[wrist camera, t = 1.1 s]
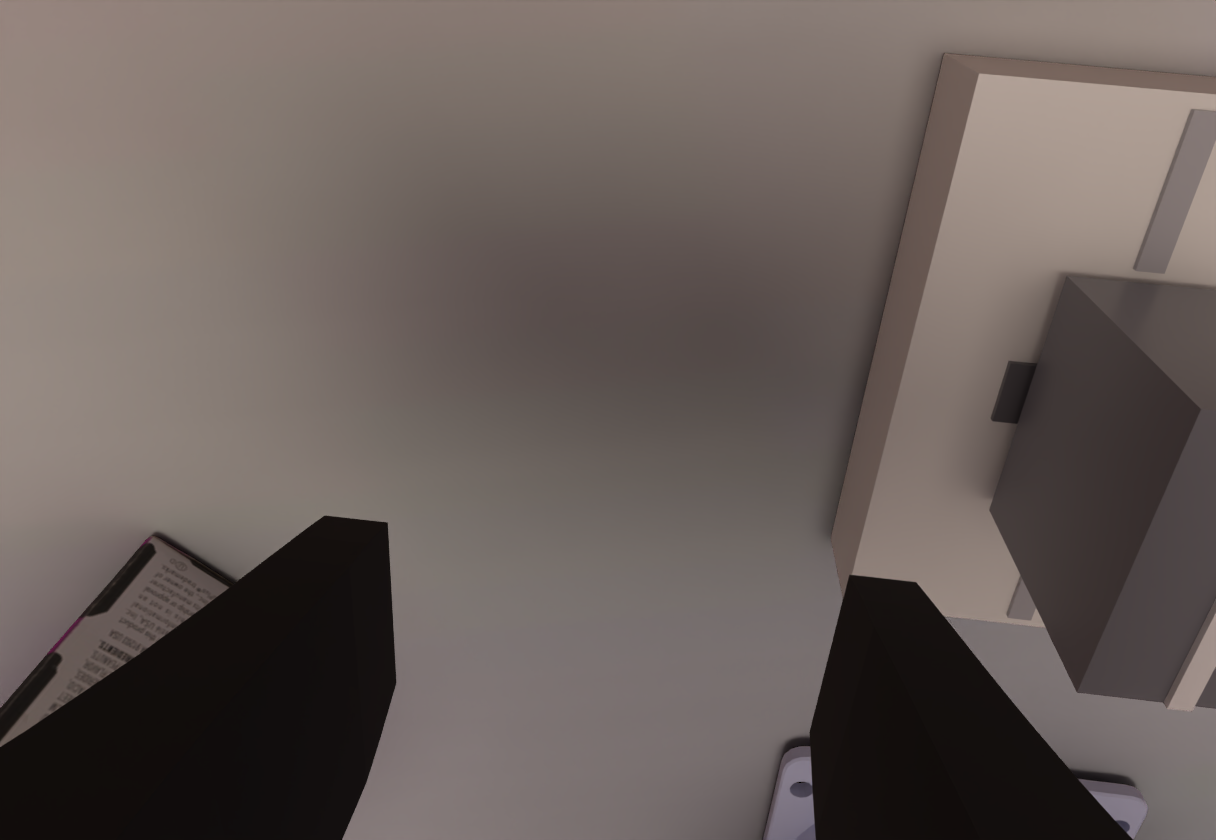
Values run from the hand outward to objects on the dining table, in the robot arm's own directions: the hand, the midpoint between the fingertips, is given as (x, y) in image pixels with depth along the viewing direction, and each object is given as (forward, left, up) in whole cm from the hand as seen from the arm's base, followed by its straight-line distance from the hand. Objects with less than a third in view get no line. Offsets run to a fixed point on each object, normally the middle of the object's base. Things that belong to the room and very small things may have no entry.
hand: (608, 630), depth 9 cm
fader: (0, -7, -6) cm, 9 cm away
